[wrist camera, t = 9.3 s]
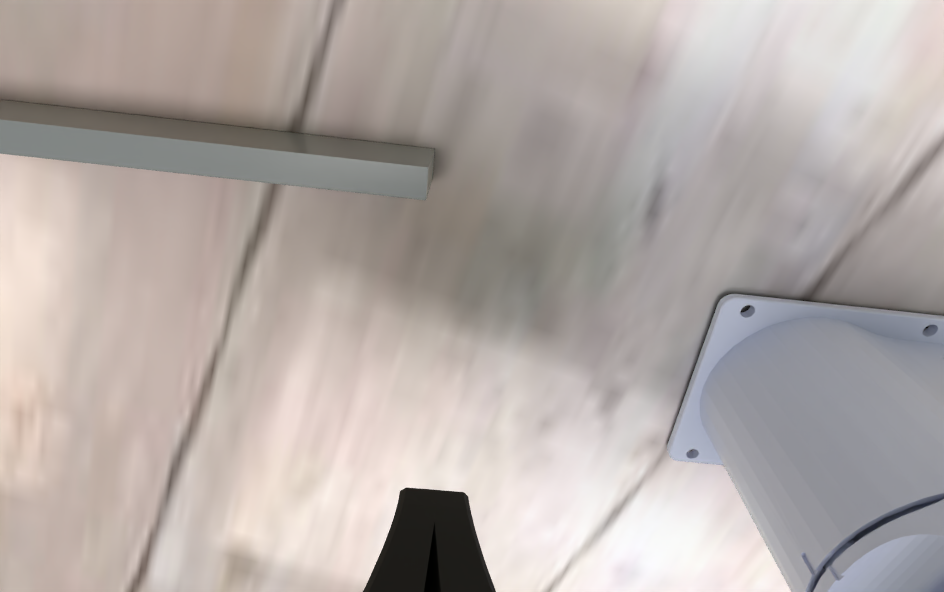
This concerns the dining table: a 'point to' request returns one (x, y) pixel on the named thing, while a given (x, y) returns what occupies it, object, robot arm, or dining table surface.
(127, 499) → the dining table surface
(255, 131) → the frame
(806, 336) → the robot arm
